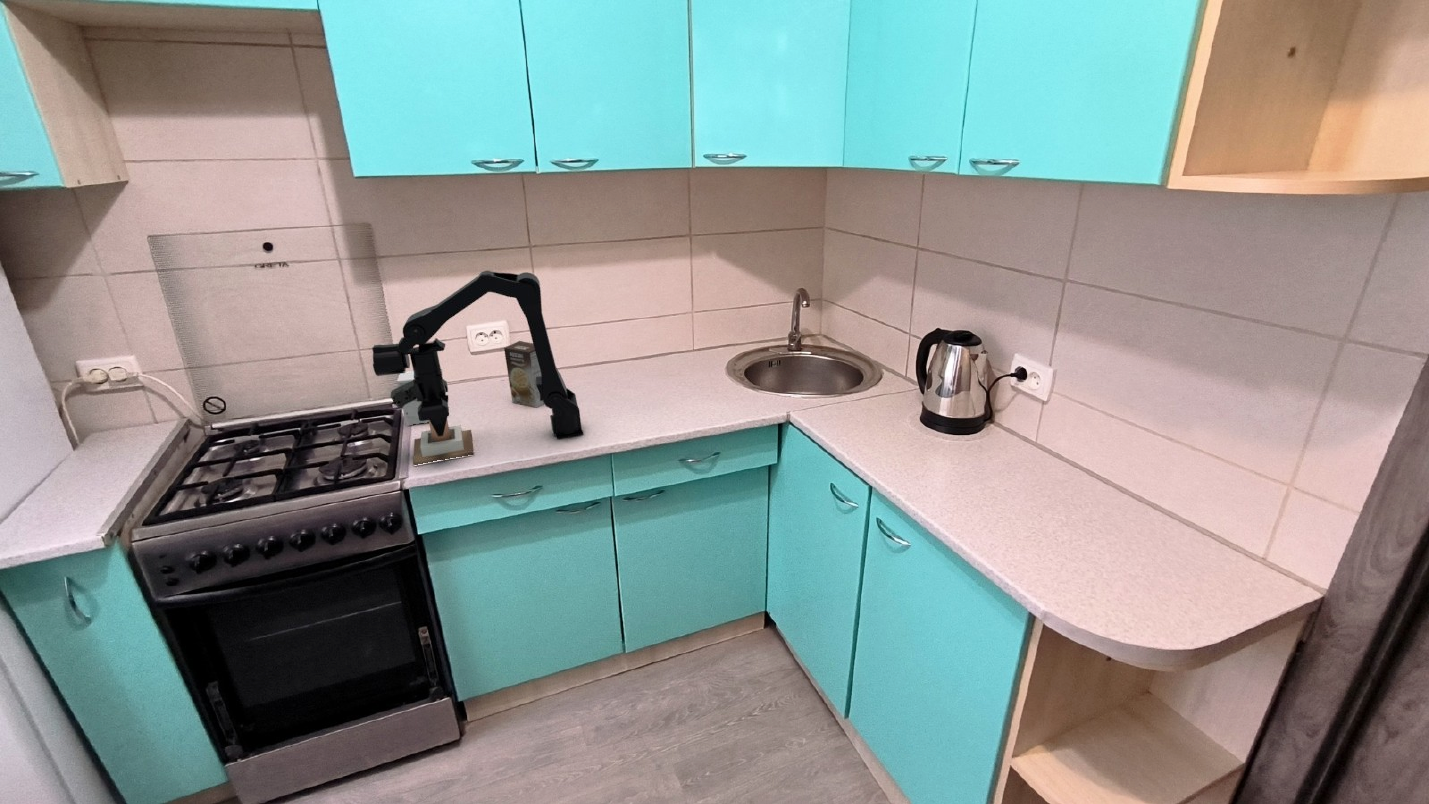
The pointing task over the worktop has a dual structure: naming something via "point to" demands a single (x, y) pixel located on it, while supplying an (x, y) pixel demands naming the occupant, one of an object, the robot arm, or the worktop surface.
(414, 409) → the supplement box
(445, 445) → the board
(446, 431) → the terracotta pin
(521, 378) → the coffee box
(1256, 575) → the worktop surface
